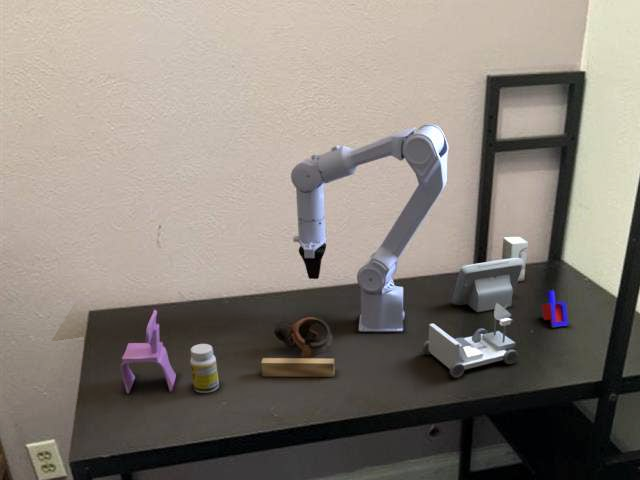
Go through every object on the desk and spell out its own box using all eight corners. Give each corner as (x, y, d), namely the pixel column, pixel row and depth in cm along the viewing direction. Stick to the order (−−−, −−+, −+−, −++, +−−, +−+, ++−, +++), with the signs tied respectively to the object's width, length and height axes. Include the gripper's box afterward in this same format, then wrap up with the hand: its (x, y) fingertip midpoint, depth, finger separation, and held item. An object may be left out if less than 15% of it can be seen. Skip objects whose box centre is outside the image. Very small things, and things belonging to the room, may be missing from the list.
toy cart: (499, 294, 161) (532, 315, 152) (495, 337, 166) (528, 360, 157) (423, 310, 154) (453, 334, 145) (421, 354, 159) (451, 379, 150)
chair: (131, 374, 153) (118, 304, 145) (177, 372, 153) (166, 302, 146) (123, 396, 146) (109, 323, 138) (170, 394, 146) (159, 321, 139)
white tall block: (524, 281, 192) (528, 242, 187) (508, 283, 191) (511, 244, 186) (515, 273, 197) (519, 235, 192) (499, 275, 196) (502, 237, 191)
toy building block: (559, 326, 174) (555, 290, 173) (568, 325, 170) (564, 288, 169) (544, 328, 173) (540, 292, 173) (553, 327, 169) (549, 290, 169)
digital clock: (513, 293, 186) (517, 251, 181) (526, 309, 178) (530, 265, 173) (447, 298, 184) (449, 255, 178) (457, 314, 176) (459, 270, 171)
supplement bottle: (195, 381, 150) (190, 343, 146) (220, 380, 151) (215, 341, 146) (192, 394, 146) (187, 354, 142) (218, 393, 147) (213, 353, 142)
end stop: (334, 371, 153) (334, 358, 152) (334, 376, 152) (333, 363, 150) (263, 371, 154) (262, 358, 152) (262, 376, 152) (261, 362, 151)
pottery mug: (329, 339, 167) (337, 317, 160) (323, 376, 161) (331, 354, 155) (274, 327, 165) (279, 304, 158) (266, 364, 160) (271, 341, 153)
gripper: (296, 206, 170) (299, 265, 177) (288, 228, 158) (291, 290, 165) (328, 207, 170) (330, 265, 177) (322, 228, 158) (325, 290, 165)
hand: (313, 277), depth 171 cm, fingers closed
